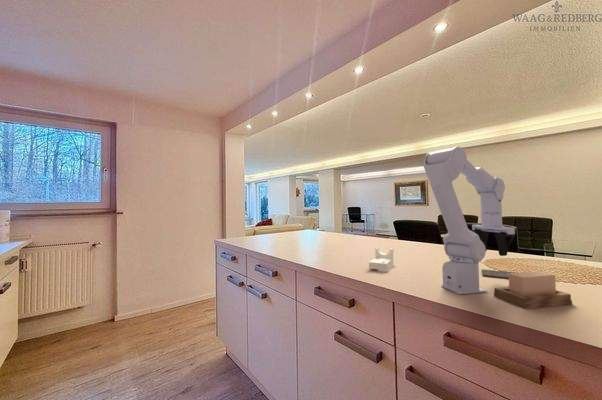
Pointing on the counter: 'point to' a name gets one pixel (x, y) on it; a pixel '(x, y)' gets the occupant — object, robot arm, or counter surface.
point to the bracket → (382, 261)
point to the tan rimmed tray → (533, 298)
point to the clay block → (532, 283)
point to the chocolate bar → (495, 274)
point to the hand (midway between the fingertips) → (492, 253)
